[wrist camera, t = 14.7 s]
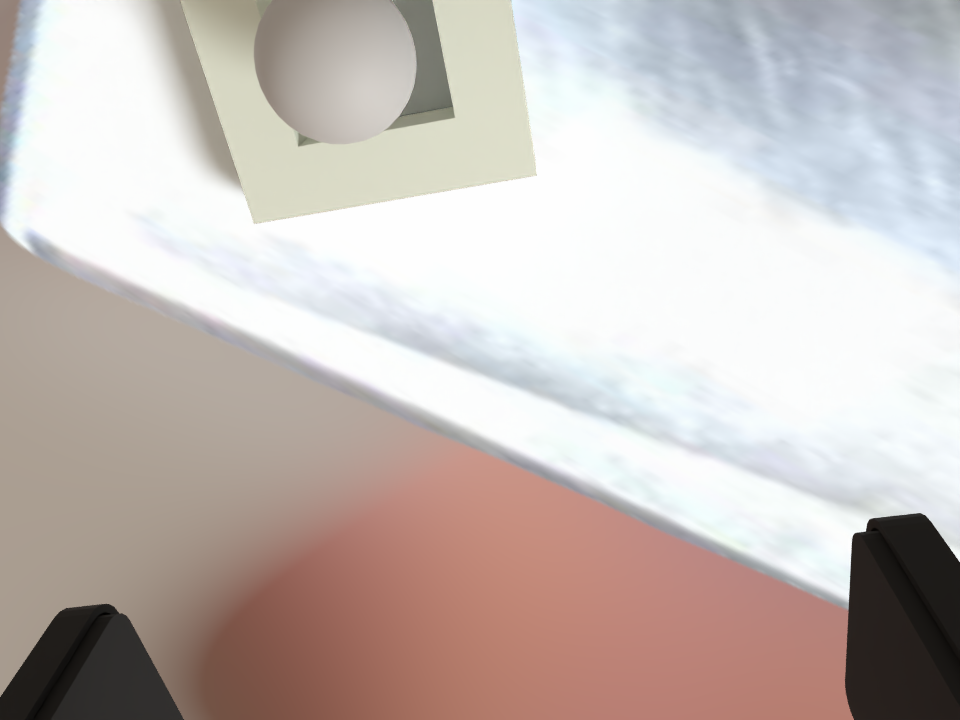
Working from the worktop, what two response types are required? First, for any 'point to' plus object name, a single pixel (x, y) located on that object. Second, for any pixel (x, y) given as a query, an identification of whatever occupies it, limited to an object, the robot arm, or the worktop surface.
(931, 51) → the worktop surface
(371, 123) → the lightbulb
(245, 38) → the socket block
